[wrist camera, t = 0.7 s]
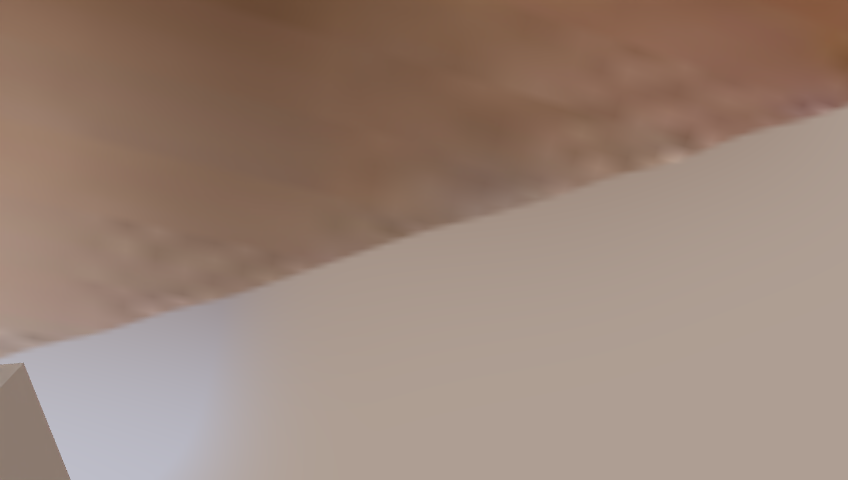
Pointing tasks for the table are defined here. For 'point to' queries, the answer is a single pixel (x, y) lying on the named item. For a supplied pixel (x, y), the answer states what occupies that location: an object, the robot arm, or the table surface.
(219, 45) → the table surface
